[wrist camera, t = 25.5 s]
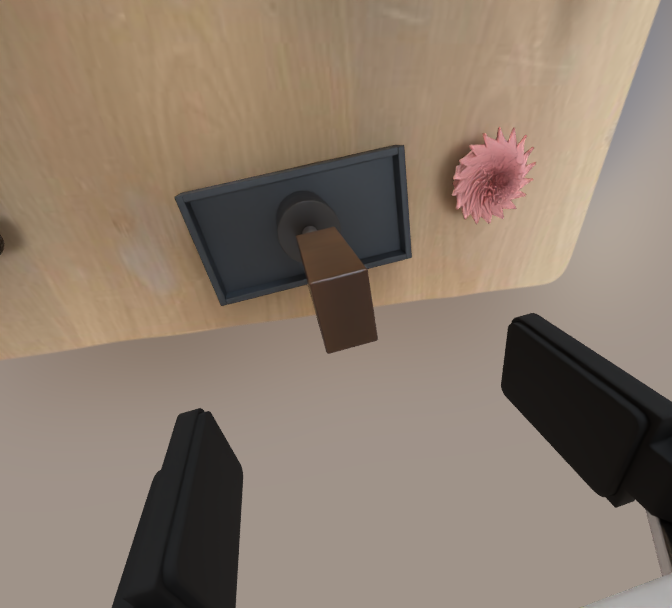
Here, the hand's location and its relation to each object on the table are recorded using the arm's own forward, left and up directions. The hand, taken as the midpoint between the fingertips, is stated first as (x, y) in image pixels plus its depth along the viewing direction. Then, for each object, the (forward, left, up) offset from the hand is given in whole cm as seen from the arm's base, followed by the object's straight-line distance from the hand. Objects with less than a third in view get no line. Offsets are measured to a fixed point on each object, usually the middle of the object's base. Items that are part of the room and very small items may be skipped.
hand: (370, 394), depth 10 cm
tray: (0, 0, -23) cm, 23 cm away
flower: (+17, +1, -23) cm, 29 cm away
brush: (0, 0, -22) cm, 22 cm away
